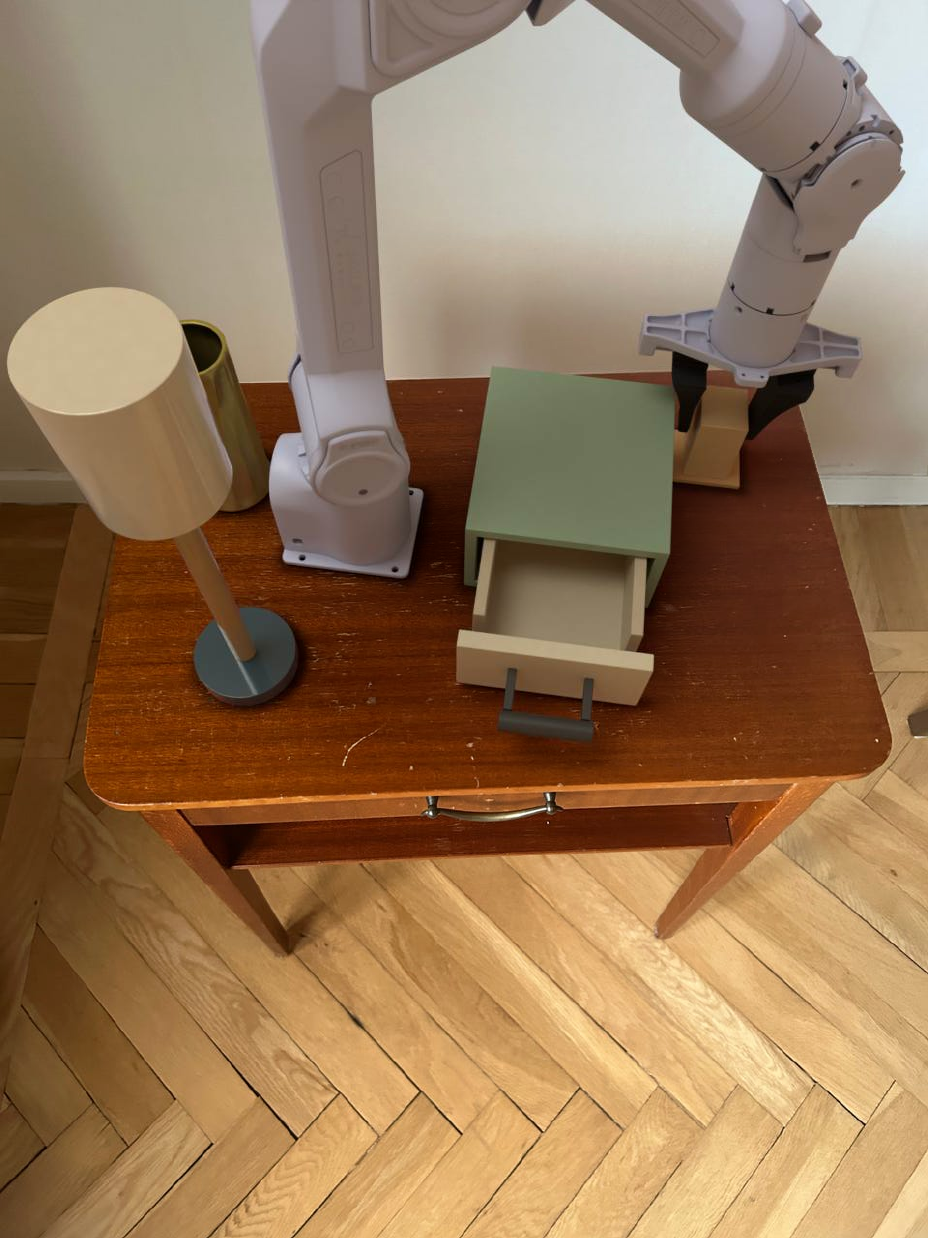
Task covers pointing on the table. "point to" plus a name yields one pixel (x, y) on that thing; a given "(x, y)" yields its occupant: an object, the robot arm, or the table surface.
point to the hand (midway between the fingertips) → (715, 426)
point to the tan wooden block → (716, 432)
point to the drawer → (556, 632)
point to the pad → (730, 482)
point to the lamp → (148, 458)
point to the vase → (229, 415)
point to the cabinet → (574, 467)
